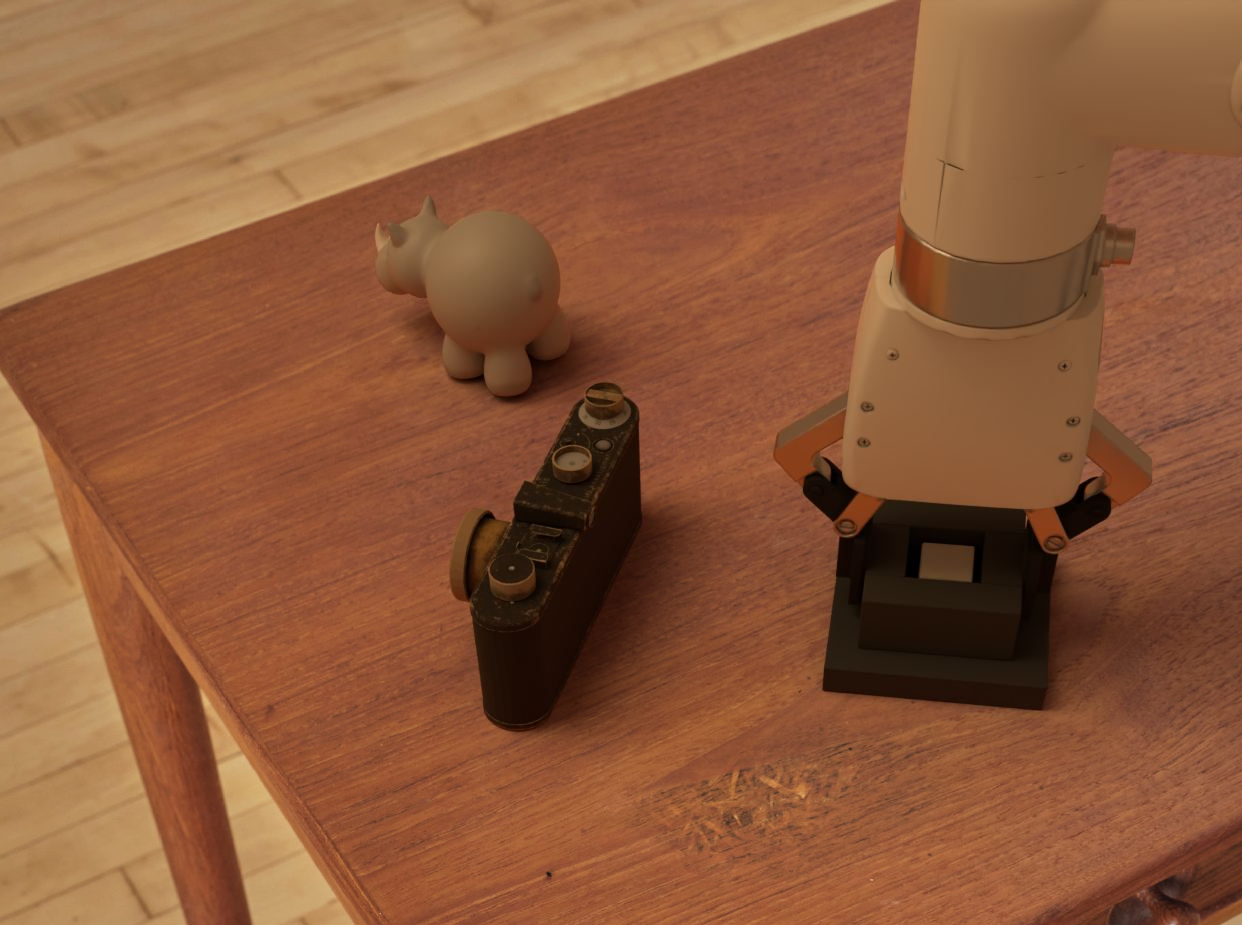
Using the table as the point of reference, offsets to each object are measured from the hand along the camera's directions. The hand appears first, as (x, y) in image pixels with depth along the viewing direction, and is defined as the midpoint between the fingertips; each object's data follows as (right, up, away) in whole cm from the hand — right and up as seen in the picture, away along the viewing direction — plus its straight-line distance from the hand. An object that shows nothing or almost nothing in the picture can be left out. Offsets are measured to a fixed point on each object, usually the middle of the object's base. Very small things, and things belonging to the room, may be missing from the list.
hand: (940, 589), depth 84 cm
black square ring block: (0, 0, +1) cm, 1 cm away
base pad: (0, -1, +2) cm, 2 cm away
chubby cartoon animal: (-23, +17, +17) cm, 33 cm away
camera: (-19, 0, +4) cm, 19 cm away
